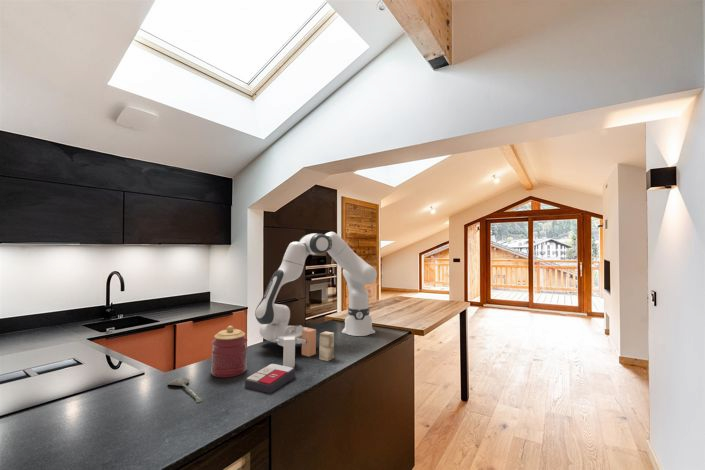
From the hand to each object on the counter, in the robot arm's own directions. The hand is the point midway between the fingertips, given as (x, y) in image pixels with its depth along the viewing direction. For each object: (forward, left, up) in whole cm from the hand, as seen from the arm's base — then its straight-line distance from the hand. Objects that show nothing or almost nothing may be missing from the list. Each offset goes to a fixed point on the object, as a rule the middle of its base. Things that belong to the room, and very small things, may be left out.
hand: (310, 340), depth 149 cm
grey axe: (+36, -39, -7) cm, 53 cm away
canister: (+19, -30, -7) cm, 36 cm away
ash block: (+5, +7, -7) cm, 11 cm away
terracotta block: (-1, -1, -7) cm, 7 cm away
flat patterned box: (+29, -12, -7) cm, 33 cm away
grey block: (+13, -8, -7) cm, 16 cm away
